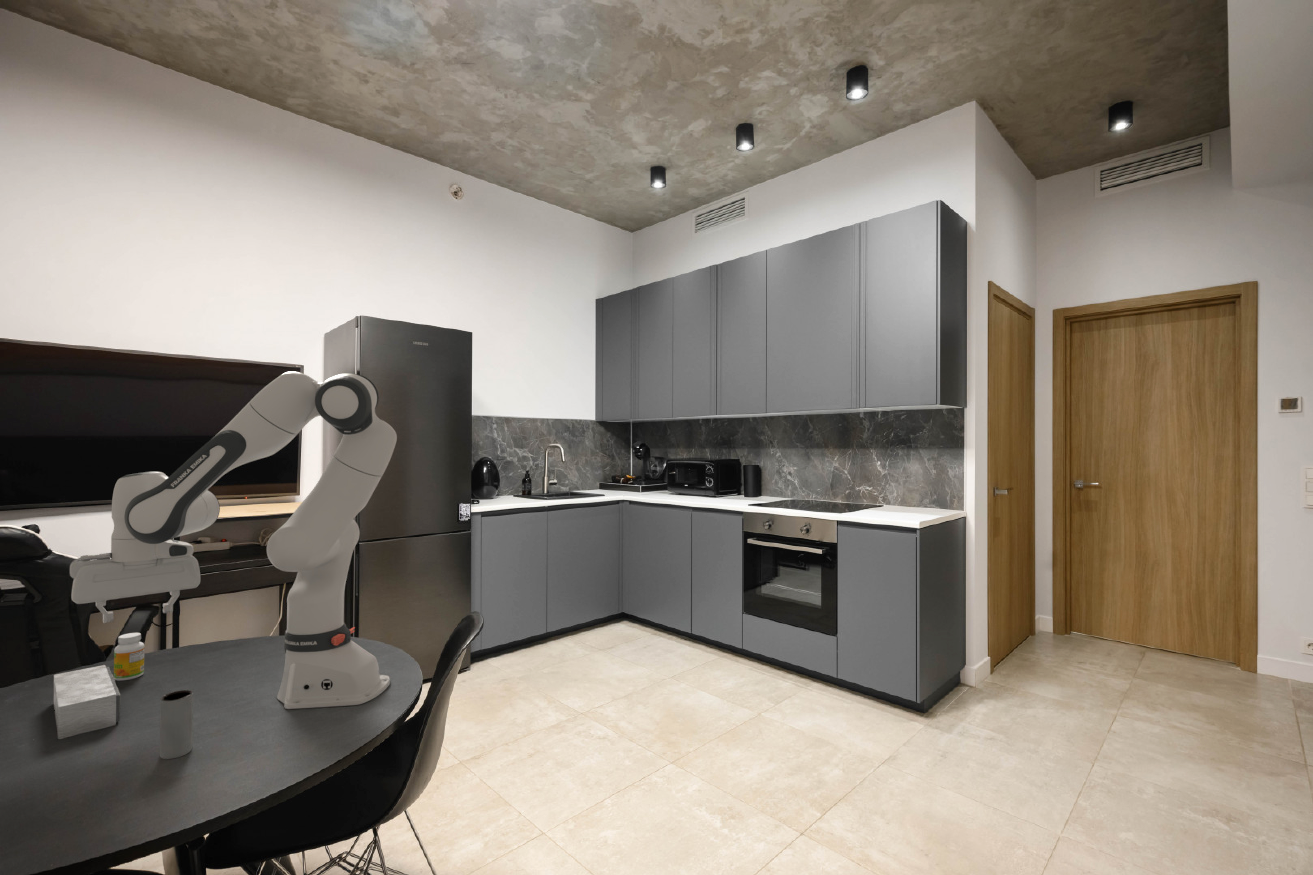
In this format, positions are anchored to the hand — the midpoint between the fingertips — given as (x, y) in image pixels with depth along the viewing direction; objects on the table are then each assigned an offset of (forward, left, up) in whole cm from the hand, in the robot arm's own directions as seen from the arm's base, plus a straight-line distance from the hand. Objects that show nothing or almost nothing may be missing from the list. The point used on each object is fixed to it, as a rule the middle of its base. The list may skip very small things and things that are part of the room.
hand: (138, 616), depth 125 cm
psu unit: (+9, +3, -19) cm, 21 cm away
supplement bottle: (+17, -16, -19) cm, 31 cm away
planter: (-22, +17, -19) cm, 34 cm away
